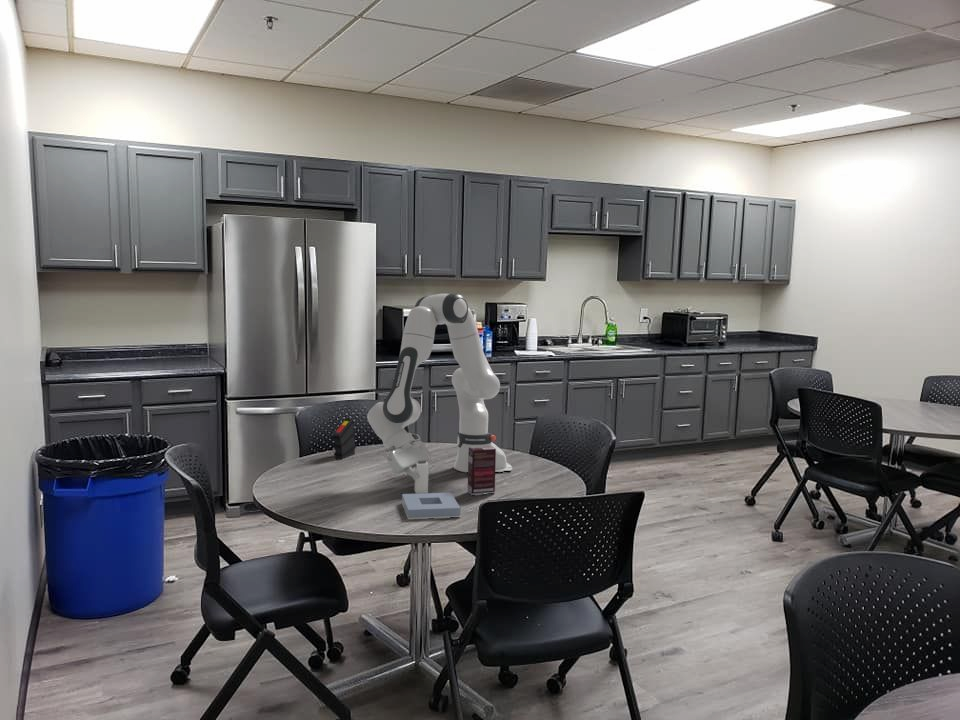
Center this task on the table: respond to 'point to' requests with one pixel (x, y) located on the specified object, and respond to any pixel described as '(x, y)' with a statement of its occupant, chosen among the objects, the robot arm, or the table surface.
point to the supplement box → (481, 470)
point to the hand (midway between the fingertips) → (423, 476)
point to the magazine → (344, 439)
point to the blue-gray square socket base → (430, 505)
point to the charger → (421, 477)
